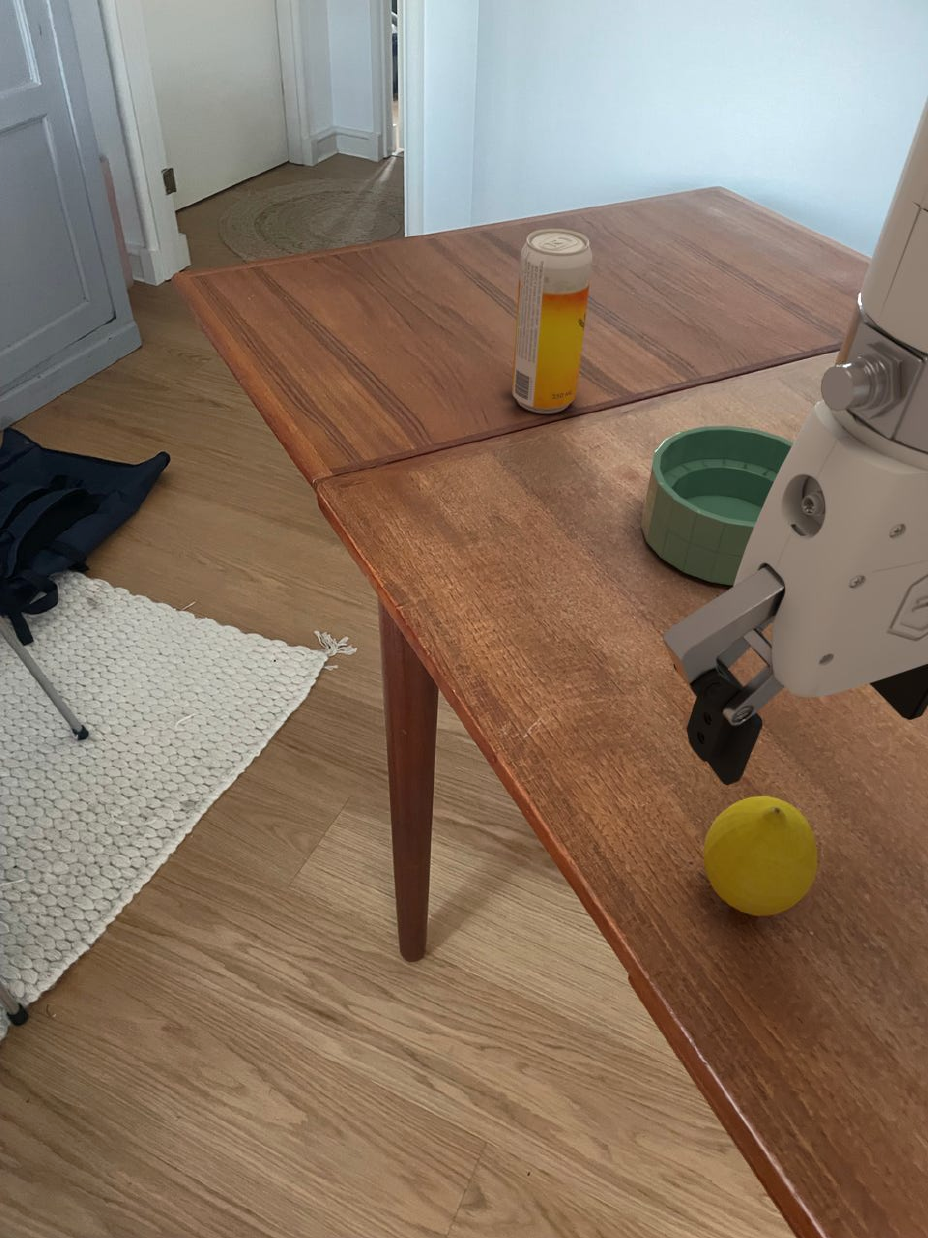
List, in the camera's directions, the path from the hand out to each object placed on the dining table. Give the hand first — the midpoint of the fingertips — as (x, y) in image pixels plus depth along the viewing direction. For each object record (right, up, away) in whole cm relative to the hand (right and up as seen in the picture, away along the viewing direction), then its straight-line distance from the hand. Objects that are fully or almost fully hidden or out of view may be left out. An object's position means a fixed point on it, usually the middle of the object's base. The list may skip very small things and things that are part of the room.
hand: (803, 726), depth 41 cm
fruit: (0, -10, +10) cm, 14 cm away
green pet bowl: (+6, +11, +33) cm, 35 cm away
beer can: (-7, +25, +48) cm, 54 cm away
